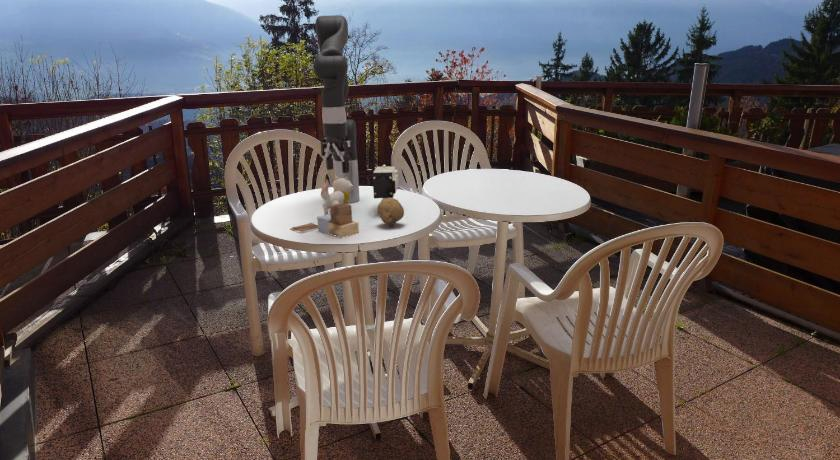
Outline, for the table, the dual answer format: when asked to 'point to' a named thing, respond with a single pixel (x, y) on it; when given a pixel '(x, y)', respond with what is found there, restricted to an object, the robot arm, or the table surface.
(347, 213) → the walnut cube
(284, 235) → the table surface
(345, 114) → the robot arm
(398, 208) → the natural sponge
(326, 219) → the bluegrey block
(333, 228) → the oak base
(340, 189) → the toy
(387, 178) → the black and cream box
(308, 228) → the tile
